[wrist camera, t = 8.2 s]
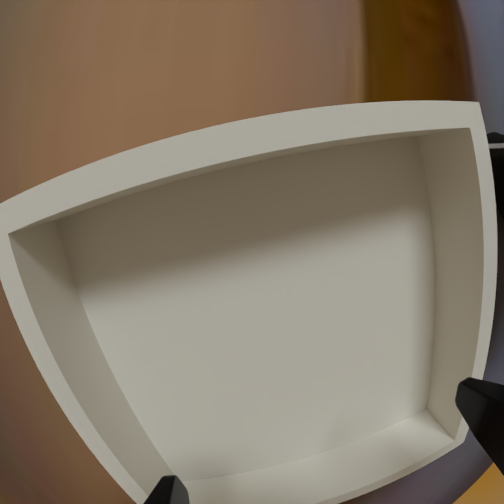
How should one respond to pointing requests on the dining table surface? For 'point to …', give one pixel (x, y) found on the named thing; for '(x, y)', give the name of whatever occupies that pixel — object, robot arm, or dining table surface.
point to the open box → (265, 299)
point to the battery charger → (497, 166)
